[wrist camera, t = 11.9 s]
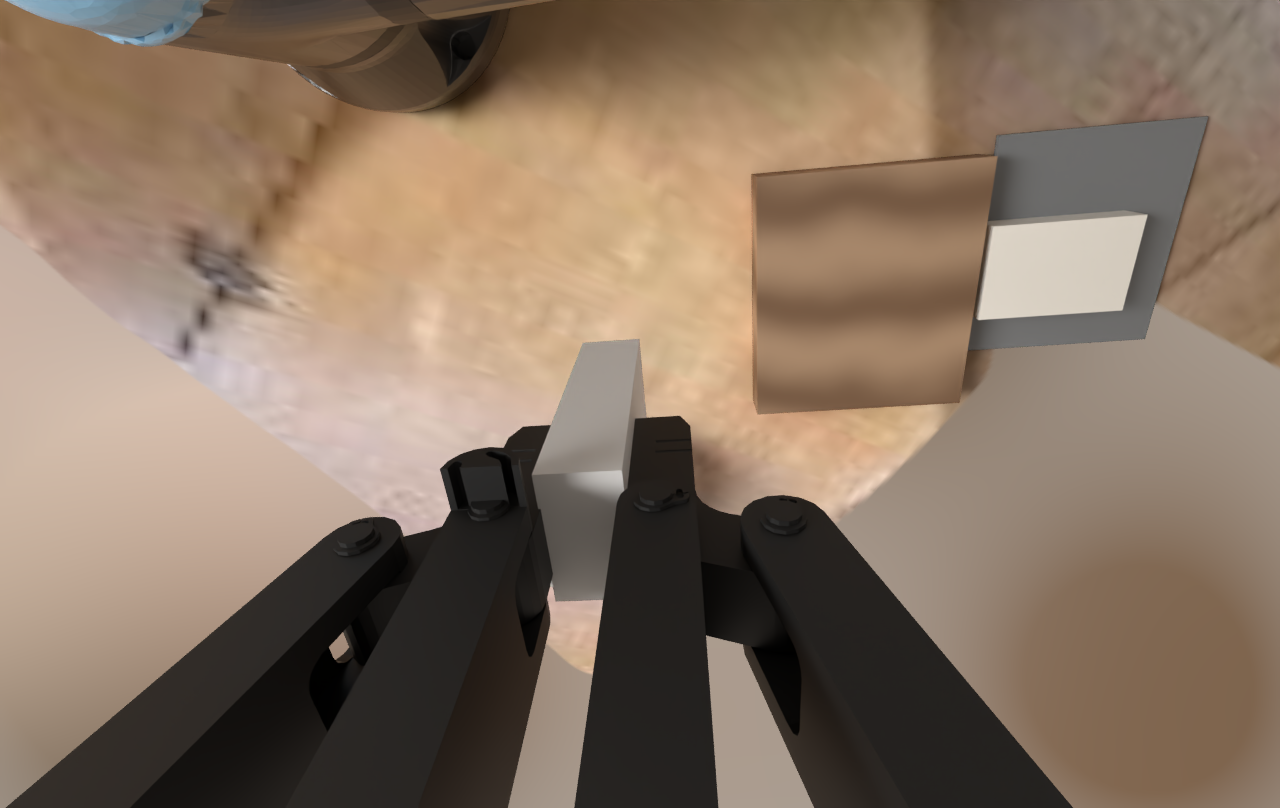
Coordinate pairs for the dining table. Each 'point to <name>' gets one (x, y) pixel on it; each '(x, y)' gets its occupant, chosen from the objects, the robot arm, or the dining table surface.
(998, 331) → the mat
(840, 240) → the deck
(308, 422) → the dining table surface
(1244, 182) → the dining table surface
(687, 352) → the dining table surface
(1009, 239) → the white rectangular block
